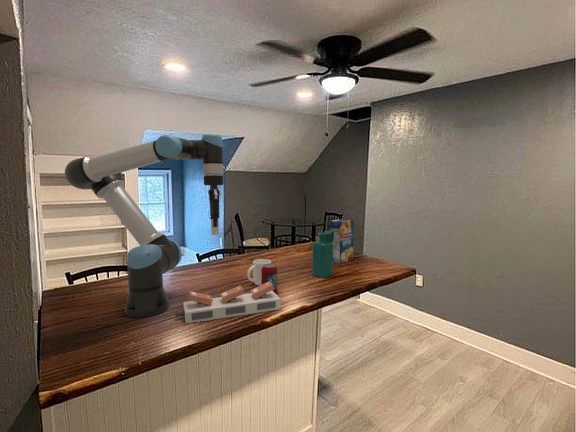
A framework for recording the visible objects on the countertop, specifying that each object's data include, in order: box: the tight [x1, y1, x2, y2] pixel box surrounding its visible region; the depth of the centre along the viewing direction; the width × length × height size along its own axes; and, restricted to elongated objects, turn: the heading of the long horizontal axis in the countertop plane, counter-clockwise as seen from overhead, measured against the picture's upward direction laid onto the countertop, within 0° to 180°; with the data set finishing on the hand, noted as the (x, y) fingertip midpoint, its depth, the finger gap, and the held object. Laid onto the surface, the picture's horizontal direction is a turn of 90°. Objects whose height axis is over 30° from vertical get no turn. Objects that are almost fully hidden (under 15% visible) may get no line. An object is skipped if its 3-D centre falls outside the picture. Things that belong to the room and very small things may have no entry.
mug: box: [246, 258, 272, 286], centre depth 150 cm, size 12×8×10 cm
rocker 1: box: [187, 290, 213, 305], centre depth 115 cm, size 8×5×2 cm, turn 111°
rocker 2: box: [219, 284, 246, 302], centre depth 119 cm, size 8×5×2 cm, turn 111°
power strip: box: [174, 291, 282, 325], centre depth 119 cm, size 37×10×5 cm, turn 111°
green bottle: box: [311, 230, 334, 279], centre depth 162 cm, size 10×8×22 cm
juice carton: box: [329, 218, 355, 265], centre depth 189 cm, size 12×8×24 cm, turn 130°
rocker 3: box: [250, 282, 274, 299], centre depth 123 cm, size 8×5×2 cm, turn 111°
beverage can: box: [261, 263, 278, 294], centre depth 138 cm, size 7×7×12 cm
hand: (215, 234), depth 129 cm, fingers closed
